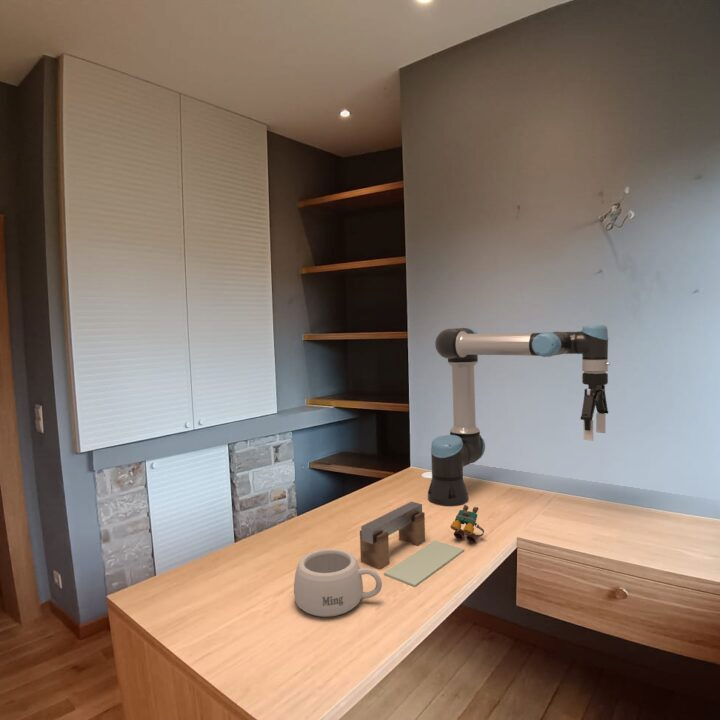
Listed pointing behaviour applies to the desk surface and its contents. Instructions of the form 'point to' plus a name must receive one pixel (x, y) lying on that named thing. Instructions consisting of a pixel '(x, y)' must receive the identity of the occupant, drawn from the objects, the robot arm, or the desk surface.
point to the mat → (423, 563)
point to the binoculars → (469, 520)
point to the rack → (379, 551)
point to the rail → (390, 522)
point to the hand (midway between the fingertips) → (594, 436)
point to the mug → (331, 582)
